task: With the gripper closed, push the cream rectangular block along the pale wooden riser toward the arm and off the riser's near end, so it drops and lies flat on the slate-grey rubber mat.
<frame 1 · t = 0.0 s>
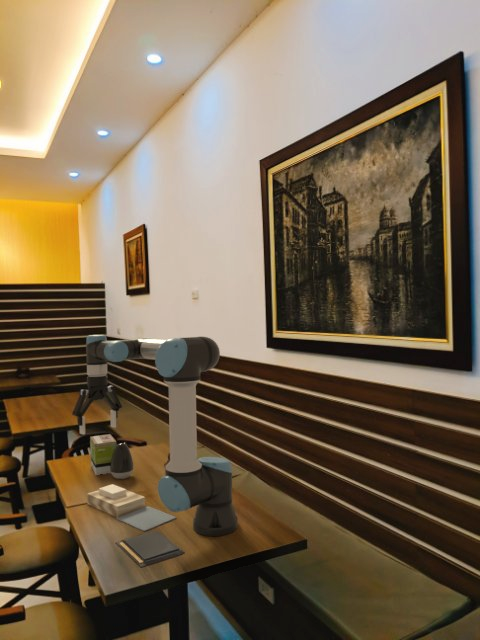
hand: (98, 430, 193), 28 cm above the table, tool pointing down, fingers open, 13 cm apart
riser: (115, 505, 191), on the table
cream rectangular block: (112, 494, 192), point 4 cm above the table, touching riser
ice cream bowl: (177, 486, 211), on the table
dark grey flat slab: (149, 550, 156), on the table
mat: (146, 518, 178), on the table
pump dispenser: (122, 477, 224), on the table
tea box: (103, 470, 235), on the table
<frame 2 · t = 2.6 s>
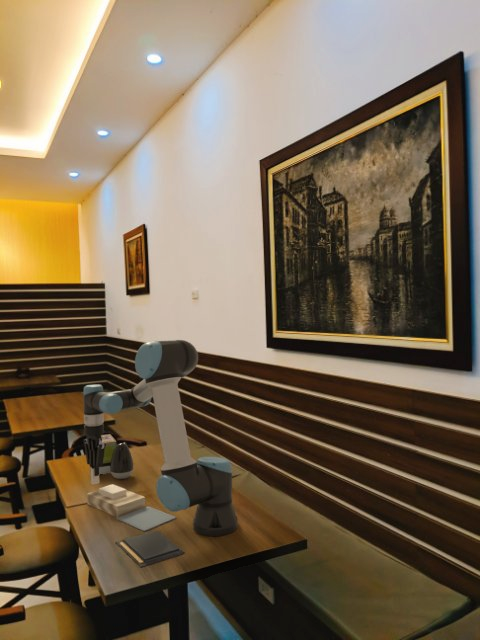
hand: (95, 483, 200), 6 cm above the table, tool pointing down, fingers closed
nothing on the table moved.
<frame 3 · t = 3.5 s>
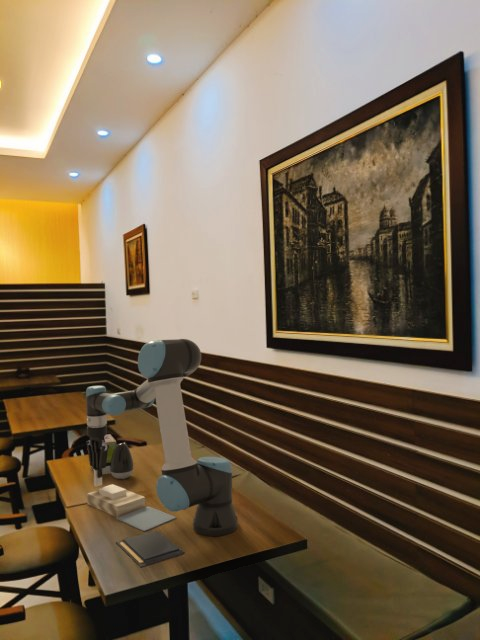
hand: (98, 485, 198), 5 cm above the table, tool pointing down, fingers closed
nothing on the table moved.
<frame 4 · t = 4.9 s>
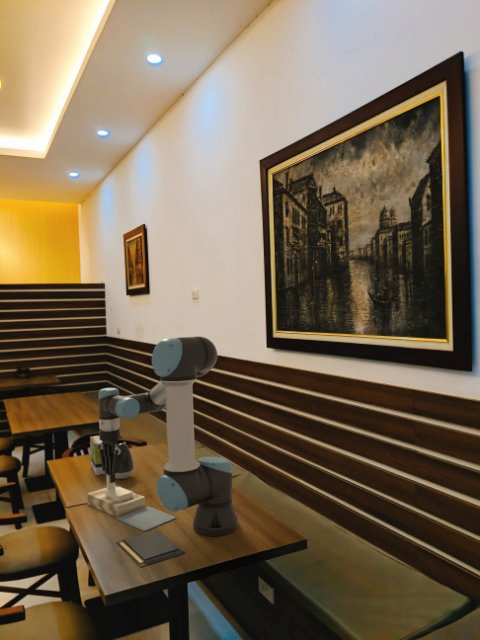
hand: (110, 490, 193), 5 cm above the table, tool pointing down, fingers closed
cream rectangular block: (119, 496, 189), point 4 cm above the table
everything else where it was.
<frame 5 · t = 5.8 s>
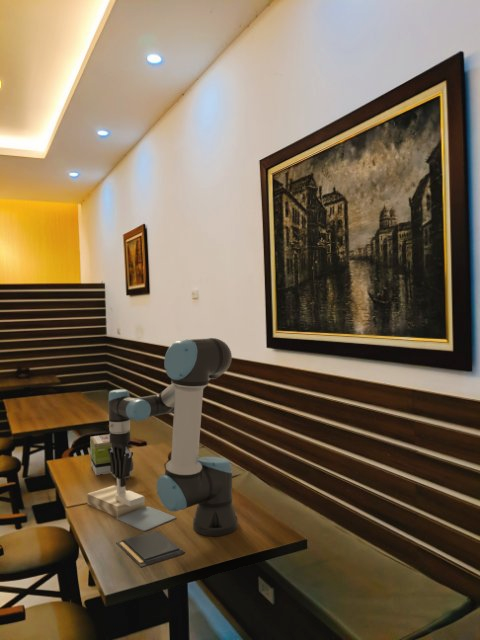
hand: (121, 494, 188), 5 cm above the table, tool pointing down, fingers closed
cream rectangular block: (129, 500, 185), point 4 cm above the table, touching gripper
everything else where it was.
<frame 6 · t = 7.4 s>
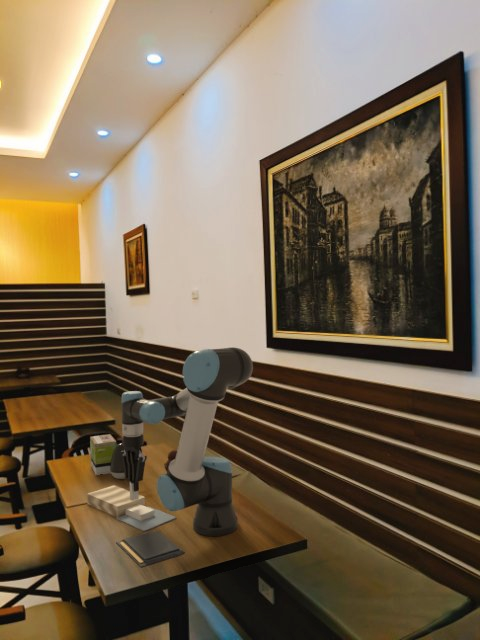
hand: (134, 499, 183), 5 cm above the table, tool pointing down, fingers closed
cream rectangular block: (139, 514, 181), resting on mat
everything else where it was.
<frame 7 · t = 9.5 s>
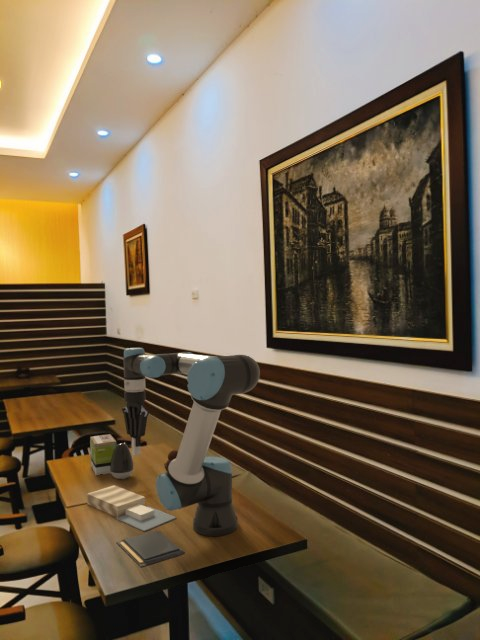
hand: (136, 454, 184), 21 cm above the table, tool pointing down, fingers closed
nothing on the table moved.
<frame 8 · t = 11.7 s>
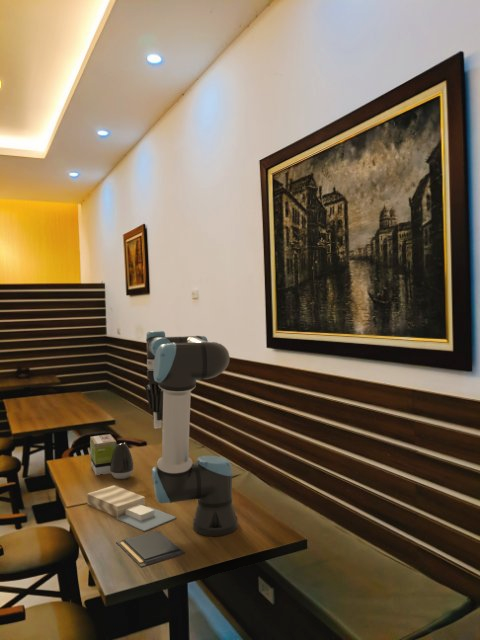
hand: (157, 427, 203), 26 cm above the table, tool pointing down, fingers closed
nothing on the table moved.
at the end: cream rectangular block inside the target area (3.7 cm from its centre), resting on mat; cream rectangular block tilted 0° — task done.
